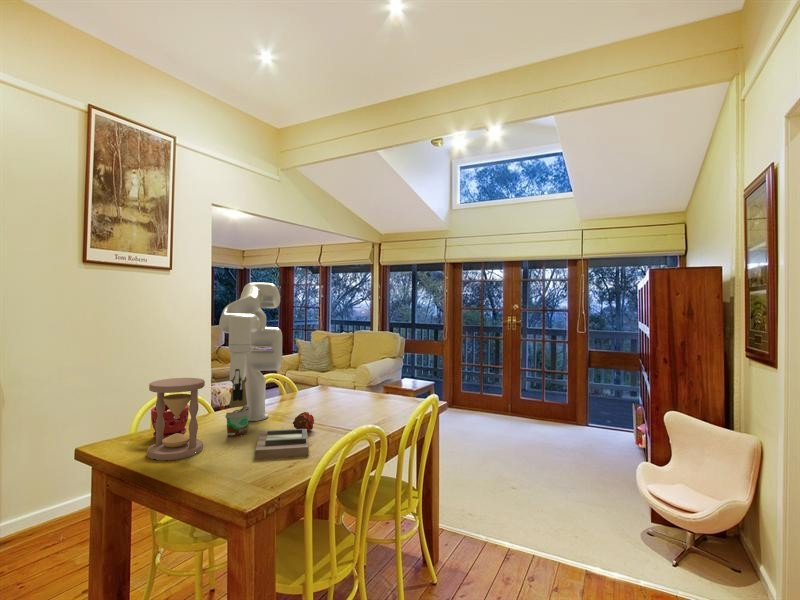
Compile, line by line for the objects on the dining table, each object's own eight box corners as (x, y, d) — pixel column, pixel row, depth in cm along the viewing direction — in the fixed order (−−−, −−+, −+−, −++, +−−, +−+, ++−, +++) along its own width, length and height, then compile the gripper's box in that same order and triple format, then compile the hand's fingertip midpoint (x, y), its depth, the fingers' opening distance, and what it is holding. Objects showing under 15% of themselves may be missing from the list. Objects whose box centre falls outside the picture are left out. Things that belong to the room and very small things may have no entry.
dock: (260, 438, 164) (260, 427, 164) (306, 436, 168) (306, 425, 168) (255, 459, 142) (255, 445, 142) (308, 455, 147) (308, 442, 147)
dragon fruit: (302, 439, 169) (301, 435, 180) (319, 425, 172) (317, 422, 183) (290, 422, 168) (289, 419, 180) (307, 409, 171) (305, 406, 182)
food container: (239, 439, 163) (239, 413, 163) (225, 438, 164) (225, 412, 164) (256, 430, 175) (256, 406, 175) (242, 429, 176) (243, 405, 176)
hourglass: (213, 447, 153) (215, 379, 153) (173, 464, 137) (175, 388, 137) (177, 441, 159) (179, 376, 159) (135, 456, 143) (137, 383, 143)
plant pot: (148, 435, 166) (149, 405, 166) (184, 429, 174) (185, 401, 174) (152, 444, 155) (153, 412, 156) (191, 437, 163) (191, 407, 163)
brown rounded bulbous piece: (231, 407, 146) (232, 376, 147) (227, 404, 151) (228, 374, 151) (249, 405, 150) (250, 375, 150) (244, 402, 155) (245, 372, 155)
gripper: (232, 346, 158) (230, 394, 158) (225, 351, 142) (223, 405, 142) (252, 346, 160) (251, 393, 160) (248, 351, 144) (246, 404, 144)
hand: (238, 398), depth 151 cm, fingers closed on brown rounded bulbous piece, 4 cm apart
